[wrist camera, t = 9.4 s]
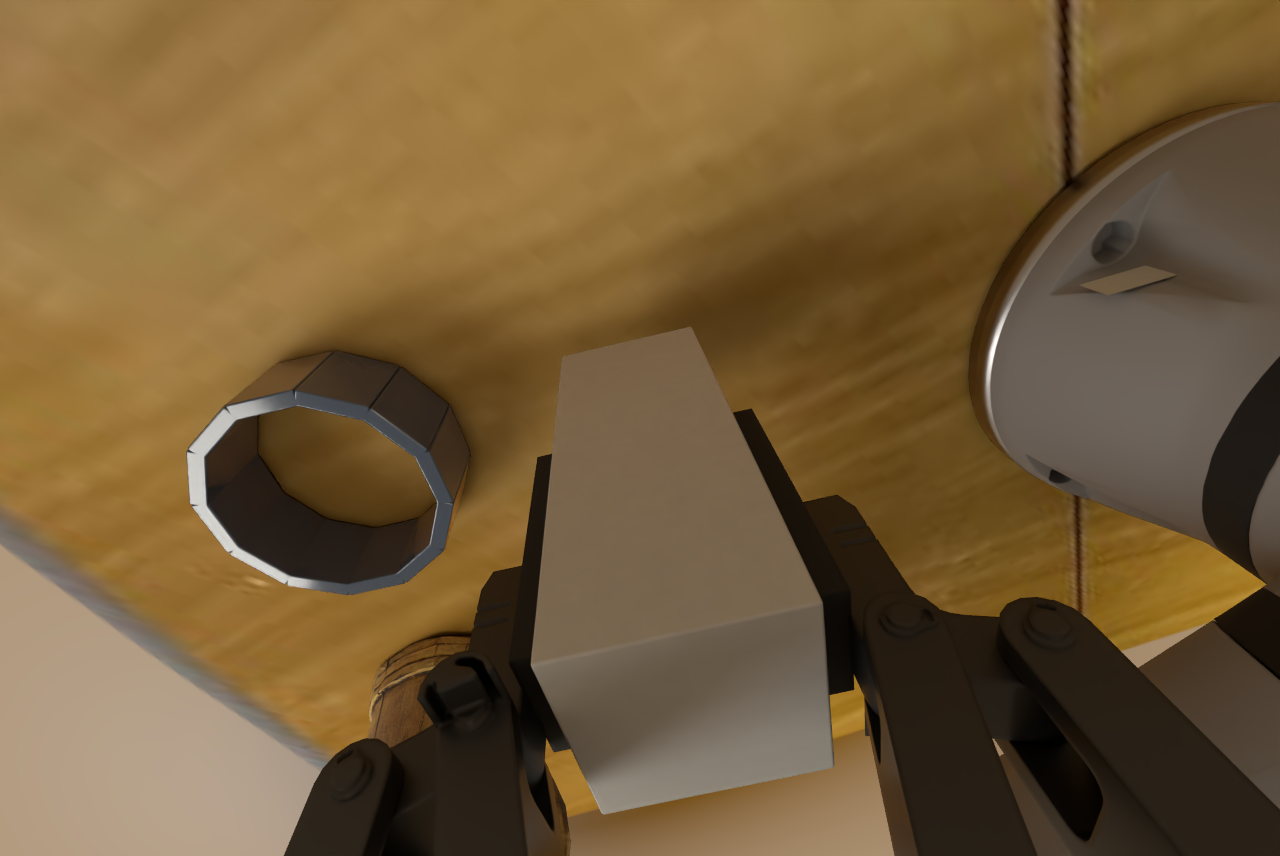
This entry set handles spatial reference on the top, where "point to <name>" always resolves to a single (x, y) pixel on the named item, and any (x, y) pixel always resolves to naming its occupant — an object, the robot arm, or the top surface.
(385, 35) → the top surface
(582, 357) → the grey block
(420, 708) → the wooden mug
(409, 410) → the faceted metal ring
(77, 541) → the top surface
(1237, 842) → the robot arm
